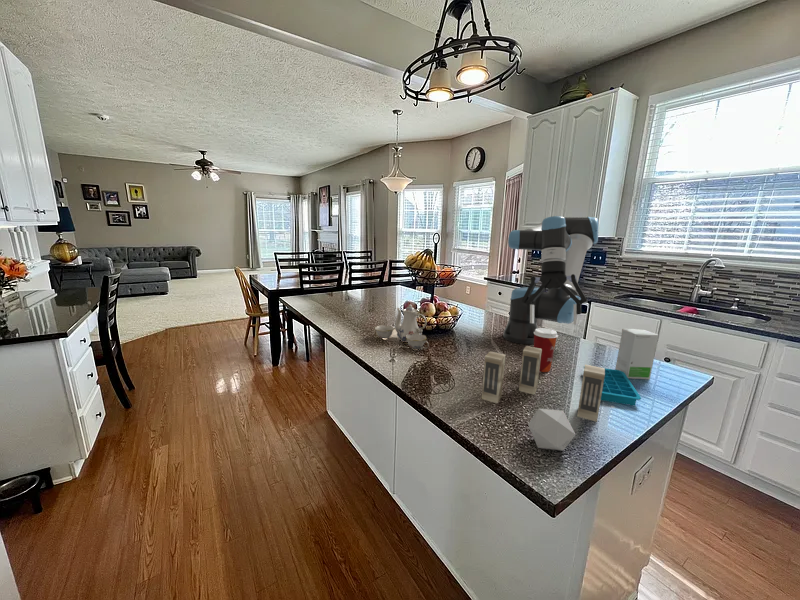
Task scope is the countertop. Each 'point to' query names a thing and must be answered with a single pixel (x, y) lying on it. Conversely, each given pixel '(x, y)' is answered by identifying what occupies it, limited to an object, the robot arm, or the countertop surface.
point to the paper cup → (545, 346)
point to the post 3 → (591, 392)
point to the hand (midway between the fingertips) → (553, 324)
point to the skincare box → (636, 353)
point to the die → (551, 429)
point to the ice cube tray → (618, 388)
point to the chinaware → (405, 328)
